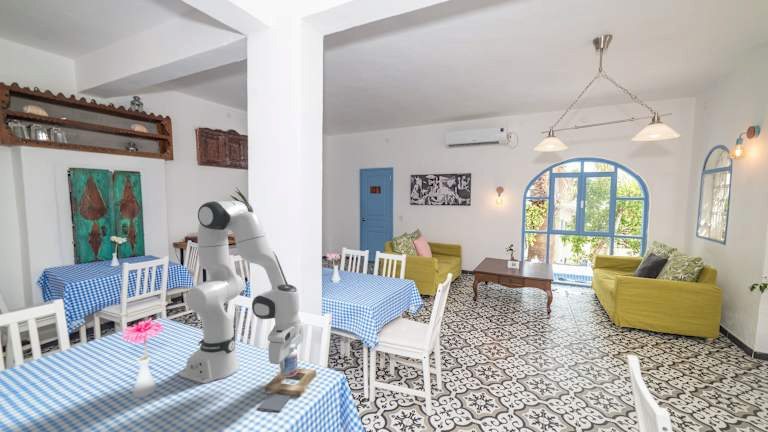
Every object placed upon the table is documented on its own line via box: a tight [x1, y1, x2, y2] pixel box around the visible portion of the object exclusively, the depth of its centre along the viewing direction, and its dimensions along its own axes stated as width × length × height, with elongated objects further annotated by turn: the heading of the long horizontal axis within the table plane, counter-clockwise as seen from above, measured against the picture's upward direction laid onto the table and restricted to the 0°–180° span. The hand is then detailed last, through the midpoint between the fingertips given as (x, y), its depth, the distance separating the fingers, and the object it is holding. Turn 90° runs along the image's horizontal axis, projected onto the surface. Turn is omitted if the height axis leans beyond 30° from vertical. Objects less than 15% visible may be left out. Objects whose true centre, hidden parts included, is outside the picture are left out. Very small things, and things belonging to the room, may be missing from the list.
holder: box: [264, 367, 317, 397], centre depth 120 cm, size 14×14×2 cm
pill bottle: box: [280, 343, 298, 378], centre depth 119 cm, size 6×6×11 cm
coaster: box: [257, 393, 292, 413], centre depth 108 cm, size 8×8×1 cm
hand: (287, 363), depth 119 cm, fingers closed on pill bottle, 6 cm apart
